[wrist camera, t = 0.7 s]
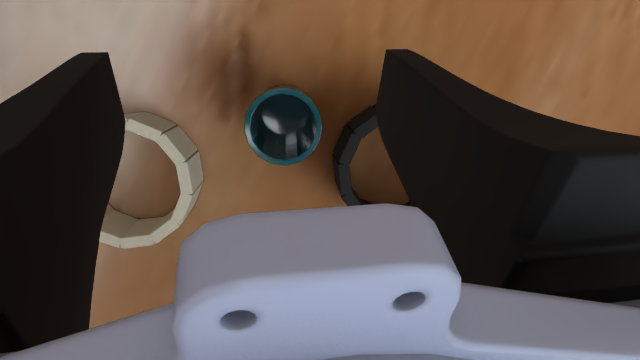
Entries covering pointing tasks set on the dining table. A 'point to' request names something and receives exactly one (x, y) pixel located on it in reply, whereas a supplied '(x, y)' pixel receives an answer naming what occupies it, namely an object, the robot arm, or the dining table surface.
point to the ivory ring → (190, 176)
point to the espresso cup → (283, 125)
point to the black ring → (352, 153)
